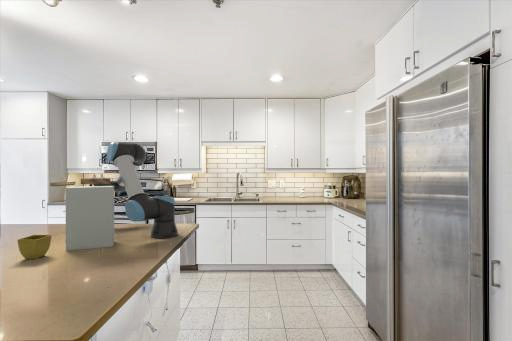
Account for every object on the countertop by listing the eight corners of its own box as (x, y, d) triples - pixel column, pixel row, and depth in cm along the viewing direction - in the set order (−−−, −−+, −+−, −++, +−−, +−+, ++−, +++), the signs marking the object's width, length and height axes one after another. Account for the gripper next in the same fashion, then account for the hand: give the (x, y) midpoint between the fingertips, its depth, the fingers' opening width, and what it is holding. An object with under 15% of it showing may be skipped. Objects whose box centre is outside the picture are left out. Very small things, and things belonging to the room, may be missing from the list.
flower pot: (36, 260, 120) (36, 239, 120) (16, 260, 121) (16, 239, 121) (52, 254, 129) (52, 234, 129) (33, 254, 129) (33, 234, 129)
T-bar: (113, 182, 178) (113, 177, 178) (109, 183, 159) (109, 178, 159) (87, 182, 173) (87, 177, 173) (80, 184, 153) (80, 178, 153)
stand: (114, 241, 152) (114, 185, 152) (112, 246, 143) (112, 186, 143) (70, 245, 144) (70, 186, 144) (65, 250, 135) (65, 187, 135)
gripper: (115, 198, 185) (112, 181, 166) (87, 199, 179) (81, 181, 160) (116, 187, 188) (113, 170, 169) (88, 188, 182) (82, 170, 163)
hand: (97, 176), depth 165 cm, fingers closed on T-bar, 3 cm apart
